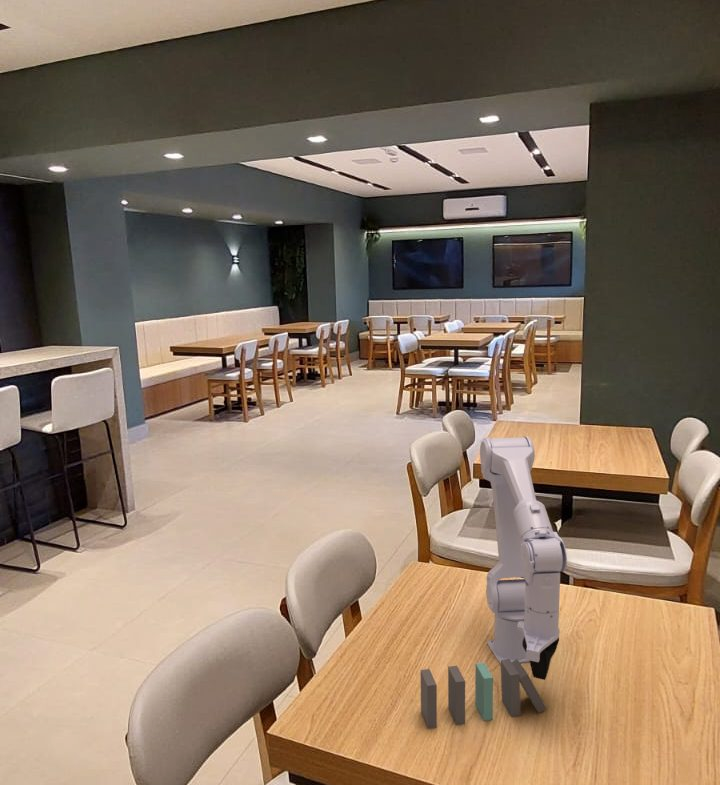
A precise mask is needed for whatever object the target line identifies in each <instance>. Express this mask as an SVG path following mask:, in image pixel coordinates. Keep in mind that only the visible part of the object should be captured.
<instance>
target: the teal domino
mask: <svg viewBox="0 0 720 785" xmlns="http://www.w3.org/2000/svg"><path fill="white" fill-rule="evenodd" d="M474 670H475V676H474V677H475V680H474V681H475V682H474V683H475V684H474V686H475V688H474V689H475V690H474V691H475V692H474V693H475V694H474V695H475V696H474V697H475V699H474V701H475V702H474V705H475V707H476V709H477V710H478V713H479V715H480V717H481V719H482V720H483V721H484V722H486V721H492V720H493V718H494V717H493V716H494V714H493V713H494V712H493V711H494V710H493V709H494V677H493V675H492V672H490V670H489V668H488V666H487V665H486V663H485V662H483V661H482V662H475V669H474Z"/></svg>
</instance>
